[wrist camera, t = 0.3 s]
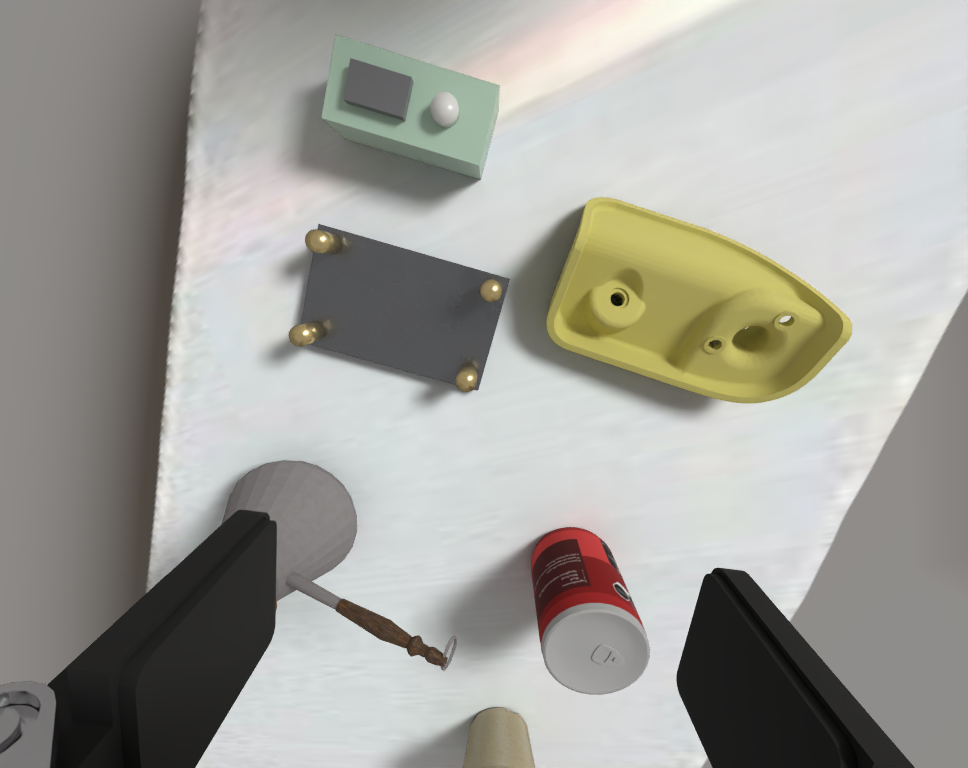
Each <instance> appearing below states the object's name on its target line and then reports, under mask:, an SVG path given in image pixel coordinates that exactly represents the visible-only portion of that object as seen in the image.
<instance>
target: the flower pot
mask: <svg viewBox="0 0 968 768" xmlns="http://www.w3.org/2000/svg"><path fill="white" fill-rule="evenodd" d="M463 768H535V764H534V759H533V755H532V750H531V744H530V739H529V734H528V728H527V725H526V723H525V721H524V720H523V718H522V717H521V716H520V715H519V714H517V713H512V712H510V711H509V710H507V709H506V708H491V709H487V710H485V711H482V712H481V713H479V714H478V715H477V716H476V718H475V719H474V721H473V723H472V724H471V726H470V732H469V738H468V743H467V748H466V753H465V758H464V763H463Z"/></svg>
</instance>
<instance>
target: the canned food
mask: <svg viewBox="0 0 968 768" xmlns="http://www.w3.org/2000/svg"><path fill="white" fill-rule="evenodd" d="M531 572H532V580H533V588H534V597H535V605H536V613H537V621H538V629H539V637H540V643H541V650H542V654H543V658H544V662H545V665H546V667H547V669H548V671H549V673H550V674H551V675H552V676H553V677H554V678H555V680H557V681H558V682H559V683H561V684H562V685H563V686H565V687H567V688H569V689H571V690H574V691H577V692H580V693H585V694H599V695H601V694H608V693H613V692H616V691H619V690H622V689H624V688H626V687H628V686H629V685H631V684H632V683H633V682H635V681H636V680H637V679H638V678H639V677H640V676H641V675H642V674H643V672H644V670H645V668H646V667H647V664H648V661H649V657H650V647H649V642H648V639H647V635H646V632H645V630H644V627H643V625H642V622H641V620H640V617H639V615H638V613H637V610H636V608H635V606H634V604H633V601H632V599H631V597H630V594H629V592H628V590H627V587H626V585H625V583H624V581H623V578H622V576H621V574H620V571H619V569H618V567H617V564H616V562H615V560H614V557H613V555H612V553H611V551H610V549H609V548H608V546H607V545H606V544H605V543H604V542H603V541H602V540H601V539H600V538H599V537H598V536H596V535H595V534H593V533H592V532H590V531H587V530H584V529H581V528H575V527H567V528H561V529H557V530H555V531H552V532H550V533H549V534H547V535H545V536H544V537H543V538H542V539H541V540H540V541H539V543H538V544H537V546H536V548H535V550H534V552H533V555H532V560H531Z"/></svg>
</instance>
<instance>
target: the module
mask: <svg viewBox="0 0 968 768" xmlns="http://www.w3.org/2000/svg"><path fill="white" fill-rule="evenodd" d="M499 88H500V85H497V84H493V83H490V82H487V81H484V80H481V79H477V78H474V77H471V76H468V75H464V74H461V73H458V72H455V71H452V70H448V69H445V68H442V67H439V66H435V65H432V64H429V63H426V62H423V61H419V60H416V59H413V58H410V57H407V56H403V55H400V54H397V53H394V52H390V51H387V50H384V49H381V48H378V47H374V46H371V45H368V44H365V43H362V42H358V41H355V40H352V39H349V38H345V37H342V36H339V35H336V34H335V40H334V46H333V52H332V58H331V63H330V69H329V75H328V81H327V87H326V93H325V99H324V105H323V110H322V116H321V118H322V119H323V120H324V121H325V122H326V123H327V124H329V125H330V126H331V127H332V128H333V129H334V130H335V131H336V132H337V133H339V134H340V135H341V136H342V137H343V138H344V139H347V140H350V141H354V142H357V143H360V144H364V145H367V146H370V147H374V148H377V149H380V150H384V151H387V152H390V153H394V154H397V155H400V156H404V157H407V158H410V159H414V160H417V161H420V162H424V163H427V164H430V165H434V166H437V167H440V168H444V169H447V170H451V171H454V172H457V173H461V174H464V175H467V176H471V177H474V178H477V179H481V178H482V174H483V170H484V166H485V162H486V158H487V154H488V150H489V147H490V143H491V139H492V135H493V131H494V127H495V123H496V119H497V115H498V112H499Z"/></svg>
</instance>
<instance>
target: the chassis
mask: <svg viewBox="0 0 968 768" xmlns="http://www.w3.org/2000/svg"><path fill="white" fill-rule="evenodd" d="M305 243H306V246H307V247H308V248H309V249H310V250H311V251H313V252H314V253H313V258H312V264H311V270H310V275H309V281H308V286H307V292H306V298H305V303H304V309H303V315H302V320H301V325H298V326H294V327H293V328H291V330H290V332H289V339H290V341H291V342H292V343H293V344H294V345H296V346H299V347H302V346H305V345H308V344H310V345H314V346H317V347H321V348H324V349H328V350H332V351H335V352H339V353H343V354H346V355H350V356H354V357H357V358H361V359H365V360H368V361H372V362H376V363H379V364H383V365H386V366H390V367H394V368H397V369H401V370H405V371H408V372H412V373H416V374H419V375H423V376H427V377H430V378H434V379H437V380H441V381H445V382H448V383H452V384H456V386H457V387H458V389H459V390H461V391H463V392H469V391H471V390H473V389H474V390H478V389H479V385H480V382H481V378H482V375H483V371H484V368H485V364H486V361H487V357H488V354H489V350H490V347H491V343H492V340H493V336H494V333H495V329H496V326H497V322H498V319H499V315H500V312H501V308H502V305H503V301H504V298H505V294H506V290H507V287H508V283H509V280H510V279H508V278H505V277H501V276H498V275H494V274H491V273H487V272H484V271H480V270H477V269H473V268H470V267H466V266H463V265H459V264H456V263H452V262H449V261H446V260H442V259H439V258H435V257H432V256H428V255H425V254H421V253H418V252H414V251H411V250H407V249H404V248H400V247H397V246H393V245H390V244H386V243H383V242H380V241H376V240H373V239H369V238H366V237H362V236H359V235H355V234H352V233H348V232H345V231H341V230H338V229H334V228H331V227H327V226H324V225H320V224H318V230H316V229H315V230H311V231H309V232H308V233H307V235H306V237H305Z"/></svg>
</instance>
